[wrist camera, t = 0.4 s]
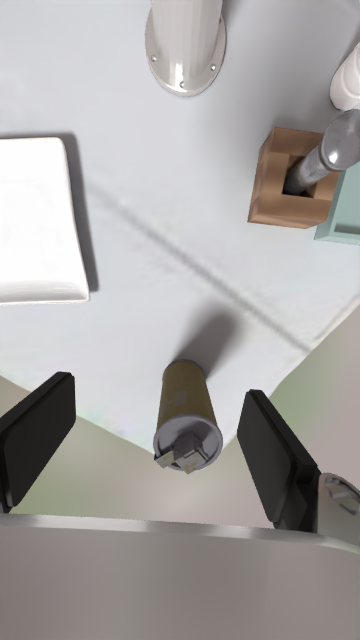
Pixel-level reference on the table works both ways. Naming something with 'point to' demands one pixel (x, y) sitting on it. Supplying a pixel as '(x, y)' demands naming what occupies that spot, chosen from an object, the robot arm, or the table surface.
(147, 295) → the table surface
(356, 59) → the water bottle
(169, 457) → the canister
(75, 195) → the table surface
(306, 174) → the steel pin
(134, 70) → the table surface
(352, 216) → the tray
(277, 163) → the block
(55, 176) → the square plate
